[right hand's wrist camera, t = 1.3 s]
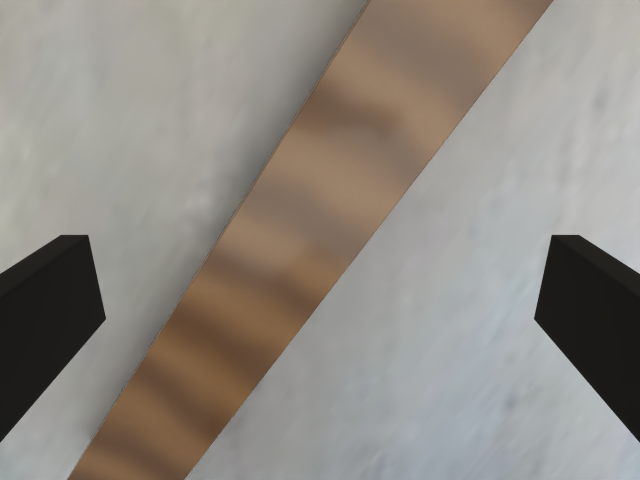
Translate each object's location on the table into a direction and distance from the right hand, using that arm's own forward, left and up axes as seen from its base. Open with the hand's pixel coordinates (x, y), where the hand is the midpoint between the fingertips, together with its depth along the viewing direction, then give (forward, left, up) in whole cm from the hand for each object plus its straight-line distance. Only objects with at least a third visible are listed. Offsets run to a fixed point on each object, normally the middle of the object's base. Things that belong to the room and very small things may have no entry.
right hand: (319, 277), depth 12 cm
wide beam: (+3, -2, -23) cm, 23 cm away
